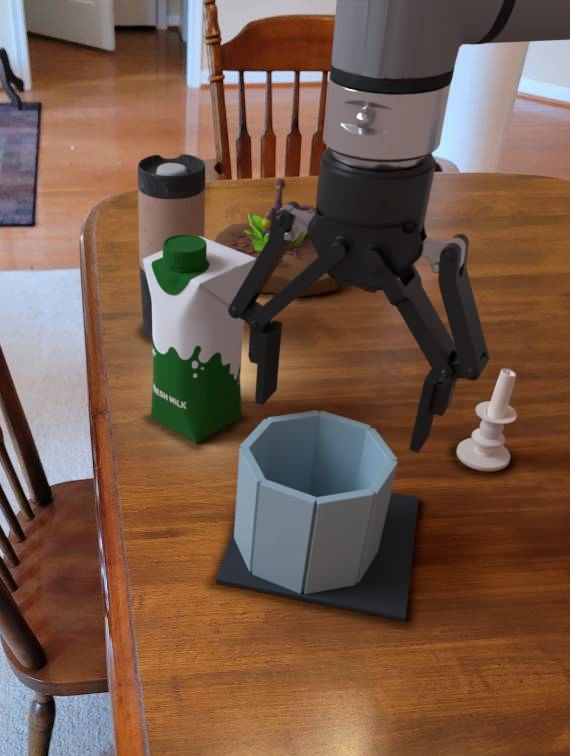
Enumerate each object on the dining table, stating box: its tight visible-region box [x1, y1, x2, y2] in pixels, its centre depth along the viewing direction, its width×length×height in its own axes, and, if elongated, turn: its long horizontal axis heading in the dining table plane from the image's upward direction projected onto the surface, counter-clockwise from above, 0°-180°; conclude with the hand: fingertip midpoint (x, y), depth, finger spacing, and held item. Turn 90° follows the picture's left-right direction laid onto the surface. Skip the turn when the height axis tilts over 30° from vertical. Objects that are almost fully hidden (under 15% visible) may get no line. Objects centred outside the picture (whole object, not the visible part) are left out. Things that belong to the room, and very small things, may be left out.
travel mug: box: [137, 153, 206, 340], centre depth 98 cm, size 8×8×20 cm
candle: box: [455, 366, 518, 472], centre depth 81 cm, size 5×5×10 cm
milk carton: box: [143, 235, 256, 444], centre depth 84 cm, size 9×9×20 cm
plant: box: [214, 178, 339, 298], centre depth 115 cm, size 20×20×11 cm
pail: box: [233, 409, 399, 594], centre depth 71 cm, size 10×12×12 cm
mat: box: [215, 492, 420, 622], centre depth 76 cm, size 16×16×1 cm
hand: (339, 419), depth 69 cm, fingers open, 13 cm apart
